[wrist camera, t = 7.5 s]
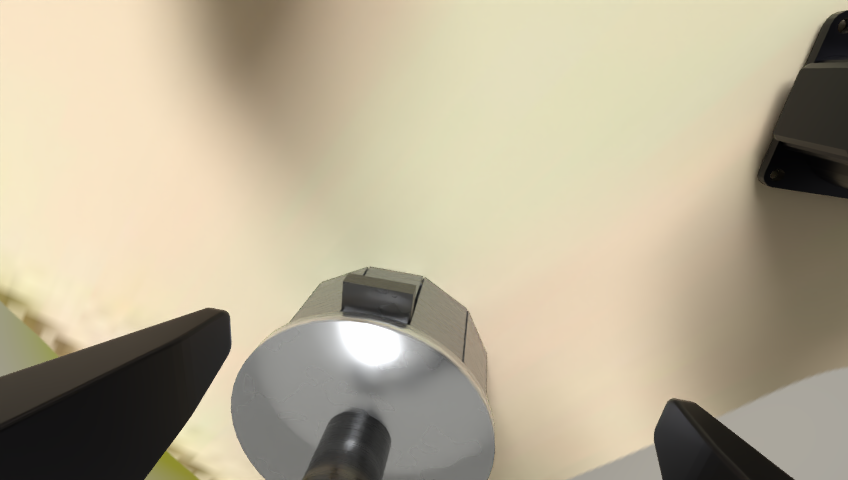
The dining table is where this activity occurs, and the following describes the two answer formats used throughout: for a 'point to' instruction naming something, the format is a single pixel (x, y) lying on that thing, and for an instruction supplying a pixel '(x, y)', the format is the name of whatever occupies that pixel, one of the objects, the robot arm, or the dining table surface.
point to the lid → (360, 404)
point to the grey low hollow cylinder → (404, 309)
